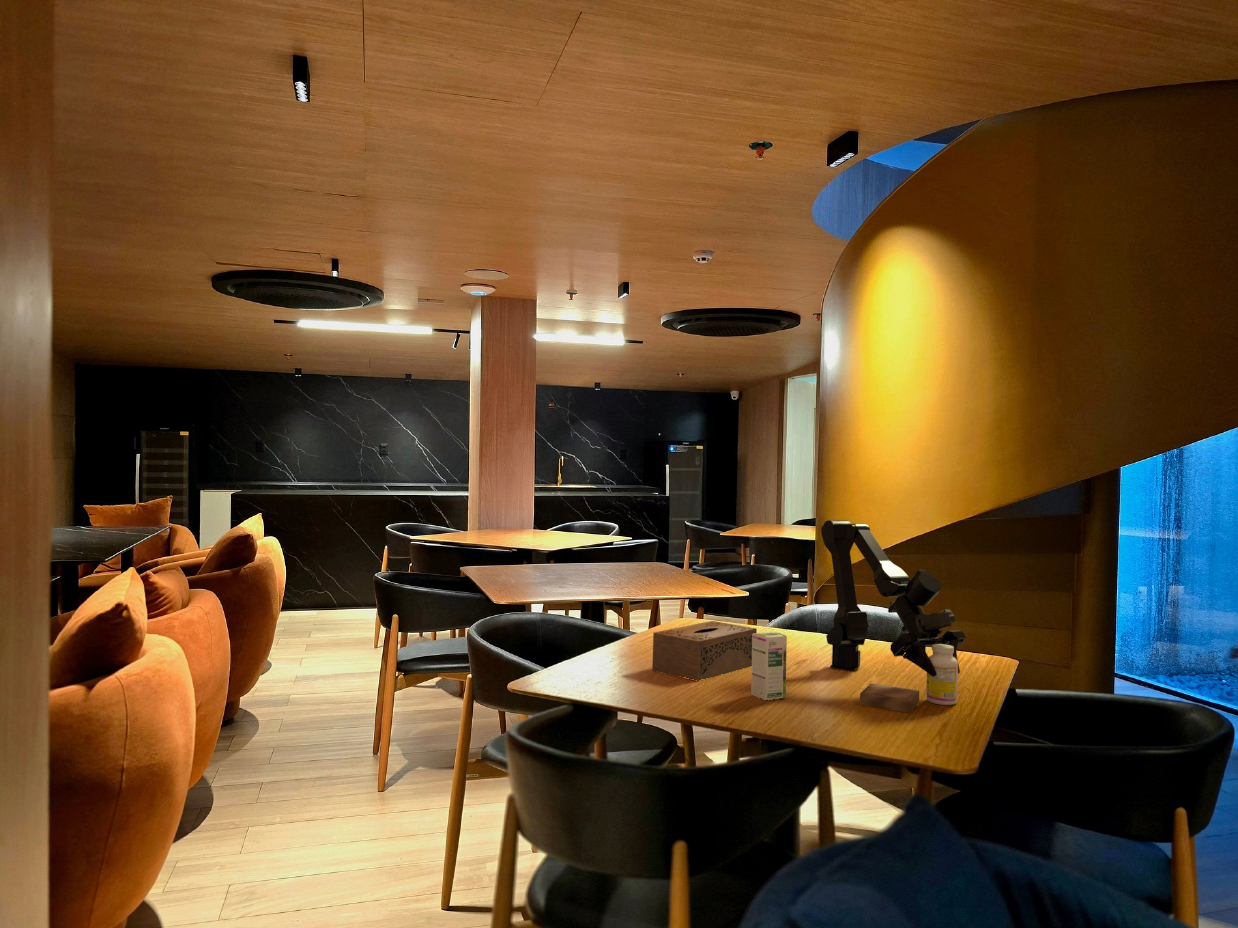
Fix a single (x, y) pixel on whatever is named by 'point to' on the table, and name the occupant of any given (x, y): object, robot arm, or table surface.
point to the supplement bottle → (943, 676)
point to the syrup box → (769, 665)
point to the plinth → (889, 697)
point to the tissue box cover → (702, 650)
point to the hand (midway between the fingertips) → (946, 674)
